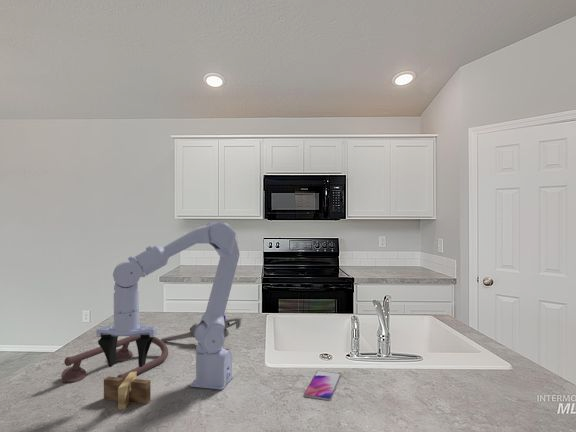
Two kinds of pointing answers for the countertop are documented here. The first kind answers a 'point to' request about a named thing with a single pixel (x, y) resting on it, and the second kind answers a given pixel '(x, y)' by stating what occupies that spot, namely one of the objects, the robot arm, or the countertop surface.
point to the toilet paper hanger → (122, 355)
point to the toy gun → (192, 329)
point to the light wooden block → (125, 390)
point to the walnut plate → (136, 394)
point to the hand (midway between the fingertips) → (127, 365)
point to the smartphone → (323, 385)
